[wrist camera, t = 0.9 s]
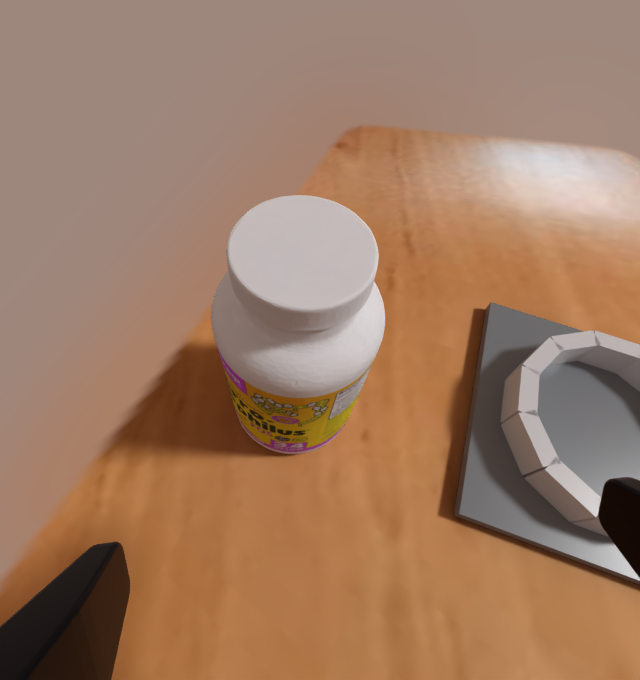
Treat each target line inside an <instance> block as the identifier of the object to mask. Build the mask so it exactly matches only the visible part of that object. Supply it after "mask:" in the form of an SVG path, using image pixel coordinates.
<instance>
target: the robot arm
mask: <svg viewBox="0 0 640 680" xmlns="http://www.w3.org/2000/svg"><path fill="white" fill-rule="evenodd" d="M598 518H599V521H600V524H601V526H602V528H603V529H604V531H605V532H606V533H607V535H608V536H609V537H610V539H611V540H612V541H613V543H614V544H615V546H616V547H617V548H618V550H619V551H620V552H621V554H622V555H623V556H624V558H625V559H626V561H627V562H628V563H629V565H630V566H631V567H632V569H633V570H634V571H635V573H636V574H637V575H638V577H639V578H640V480H637V479H635V478H631V477H621V478H613V479H609V480H607V481H606V482H605V484H604V487H603V492H602V497H601V502H600V506H599V511H598ZM129 593H130V579H129V574H128V569H127V564H126V560H125V555H124V550H123V547H122V545H121V544H120V543H118V542H111V543H103V544H97V545H94V546H92V547H91V548H89V549H88V550H87V551H86V552H85V553H83V554H82V555H81V556H80V557H79V558H78V559H77V560H75V561H74V562H73V563H72V564H71V565H70V566H69V567H68V568H66V569H65V570H64V571H63V572H62V573H61V574H60V575H58V576H57V577H56V578H55V579H54V580H53V581H52V582H51V583H49V584H48V585H47V586H46V587H45V588H44V589H43V590H41V591H40V592H39V593H38V594H37V595H36V596H35V597H33V598H32V599H31V600H30V601H29V602H28V603H27V604H26V605H24V606H23V607H22V608H21V609H20V610H19V611H18V612H16V613H15V614H14V615H13V616H12V617H11V618H10V619H9V620H7V621H6V622H5V623H4V624H3V625H2V626H1V627H0V680H111V678H112V673H113V669H114V664H115V659H116V655H117V650H118V645H119V641H120V636H121V631H122V627H123V622H124V617H125V613H126V608H127V604H128V599H129Z"/></svg>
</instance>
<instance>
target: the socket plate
mask: <svg viewBox="0 0 640 680" xmlns="http://www.w3.org/2000/svg"><path fill="white" fill-rule="evenodd" d="M621 477H631V478H635V479H637V480H640V345H639V344H636V343H633V342H630V341H626V340H623V339H620V338H617V337H614V336H610V335H607V334H604V333H601V332H598V331H594V332H593V330H592V331H585V332H584V331H581V330H578V329H574V328H571V327H568V326H565V325H562V324H559V323H555V322H552V321H549V320H546V319H543V318H539V317H536V316H533V315H530V314H527V313H523V312H520V311H517V310H514V309H511V308H508V307H504V306H501V305H498V304H495V303H492V302H491V303H490V304H489V305H488V307H487V308H486V310H485V317H484V323H483V330H482V336H481V343H480V349H479V355H478V362H477V368H476V375H475V381H474V388H473V394H472V400H471V407H470V413H469V420H468V426H467V432H466V439H465V445H464V452H463V458H462V465H461V471H460V477H459V484H458V490H457V497H456V503H455V510H454V516H456V517H458V518H461V519H464V520H466V521H469V522H472V523H474V524H477V525H480V526H483V527H485V528H488V529H491V530H493V531H496V532H499V533H501V534H504V535H507V536H509V537H512V538H515V539H517V540H520V541H523V542H525V543H528V544H531V545H534V546H536V547H539V548H542V549H544V550H547V551H550V552H552V553H555V554H558V555H560V556H563V557H566V558H568V559H571V560H574V561H577V562H579V563H582V564H585V565H587V566H590V567H593V568H595V569H598V570H601V571H603V572H606V573H609V574H611V575H614V576H617V577H620V578H622V579H625V580H628V581H630V582H633V583H636V584H638V585H640V578H639V577H638V575H637V574H636V573H635V571H634V570H633V569H632V567H631V566H630V565H629V563H628V562H627V561H626V559H625V558H624V556H623V555H622V554H621V552H620V551H619V550H618V548H617V547H616V546H615V544H614V543H613V541H612V540H611V539H610V537H609V536H608V535H607V533H606V532H605V531H604V529H603V528H602V526H601V524H600V521H599V518H598V511H599V506H600V502H601V497H602V492H603V487H604V484H605V482H606V481H607V480H609V479H613V478H621Z"/></svg>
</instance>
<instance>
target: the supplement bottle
mask: <svg viewBox="0 0 640 680" xmlns="http://www.w3.org/2000/svg"><path fill="white" fill-rule="evenodd" d="M226 254H227V264H228V272H227V273H226V274H225V276H224V277H223V279H222V280H221V282H220V284H219V286H218V288H217V290H216V293H215V296H214V299H213V304H212V311H211V314H212V315H211V321H212V329H213V334H214V338H215V342H216V345H217V348H218V351H219V355H220V358H221V362H222V365H223V369H224V372H225V376H226V380H227V383H228V386H229V390H230V393H231V397H232V400H233V404H234V407H235V411H236V414H237V416H238V419H239V421H240V423H241V425H242V427H243V428H244V430H245V431H246V433H247V434H248V435H249V436H250V437H251V438H252V439H253V440H254V441H256V442H257V443H258V444H260V445H262V446H263V447H265V448H267V449H270V450H272V451H275V452H279V453H284V454H302V453H307V452H311V451H314V450H316V449H319V448H321V447H322V446H324V445H326V444H327V443H329V442H330V441H331V440H332V439H334V438H335V437H336V436H337V434H338V433H339V432H340V431H341V429H342V428H343V427H344V425H345V423H346V422H347V420H348V418H349V416H350V414H351V412H352V409H353V407H354V405H355V402H356V400H357V398H358V396H359V393H360V391H361V389H362V386H363V384H364V382H365V379H366V377H367V375H368V372H369V370H370V368H371V366H372V363H373V361H374V359H375V357H376V354H377V352H378V349H379V347H380V344H381V341H382V338H383V334H384V328H385V311H384V304H383V301H382V297H381V294H380V292H379V290H378V287H377V286H376V284H375V282H374V278H375V275H376V271H377V266H378V257H379V255H378V248H377V244H376V240H375V238H374V236H373V234H372V232H371V230H370V229H369V227H368V226H367V225H366V223H365V222H364V221H363V220H362V219H361V218H360V217H359V216H358V215H356V214H355V213H354V212H352V211H351V210H349V209H348V208H346V207H344V206H343V205H341V204H338V203H336V202H334V201H331V200H327V199H324V198H320V197H315V196H306V195H293V196H283V197H278V198H274V199H271V200H268V201H265V202H263V203H261V204H259V205H257V206H255V207H253V208H252V209H251V210H249V211H248V212H247V213H245V214H244V215H243V216H242V217H241V218H240V219H239V220H238V222H237V223H236V225H235V226H234V228H233V229H232V231H231V234H230V236H229V239H228V243H227V250H226Z"/></svg>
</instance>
